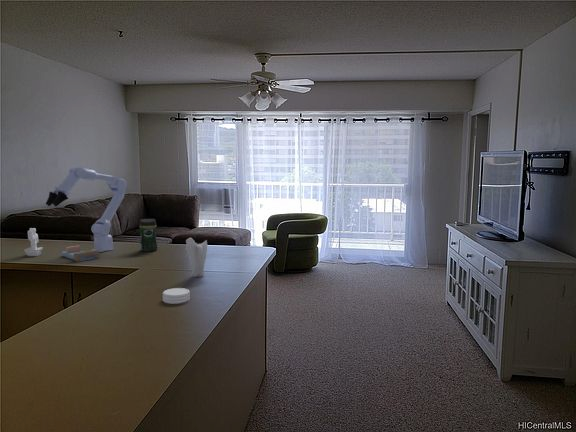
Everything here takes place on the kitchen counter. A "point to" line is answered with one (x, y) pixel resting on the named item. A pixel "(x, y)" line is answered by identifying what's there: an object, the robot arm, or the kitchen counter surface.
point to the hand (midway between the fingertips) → (50, 205)
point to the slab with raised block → (71, 250)
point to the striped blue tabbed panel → (83, 255)
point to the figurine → (33, 243)
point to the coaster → (176, 295)
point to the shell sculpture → (196, 256)
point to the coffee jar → (148, 235)
